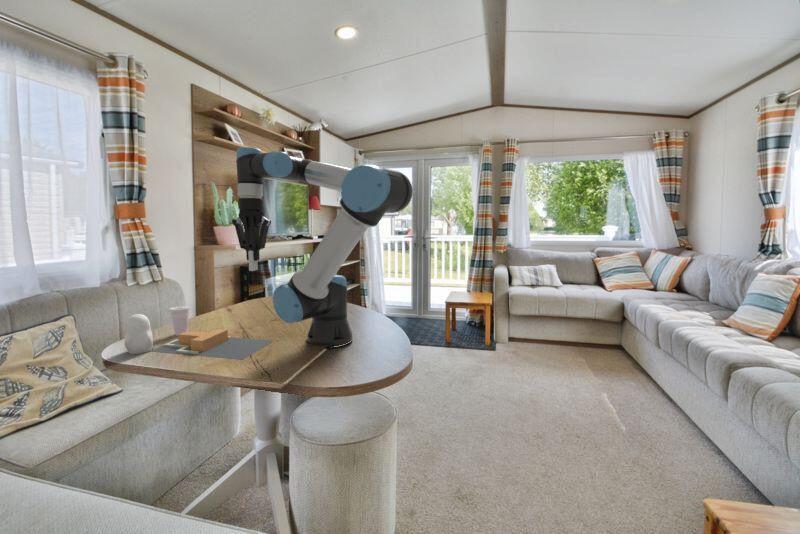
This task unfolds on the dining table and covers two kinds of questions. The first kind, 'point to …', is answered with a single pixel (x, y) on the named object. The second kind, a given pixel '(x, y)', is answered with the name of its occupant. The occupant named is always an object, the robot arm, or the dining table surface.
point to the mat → (224, 348)
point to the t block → (202, 339)
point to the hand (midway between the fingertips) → (253, 270)
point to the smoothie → (180, 318)
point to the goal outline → (183, 347)
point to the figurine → (138, 334)
